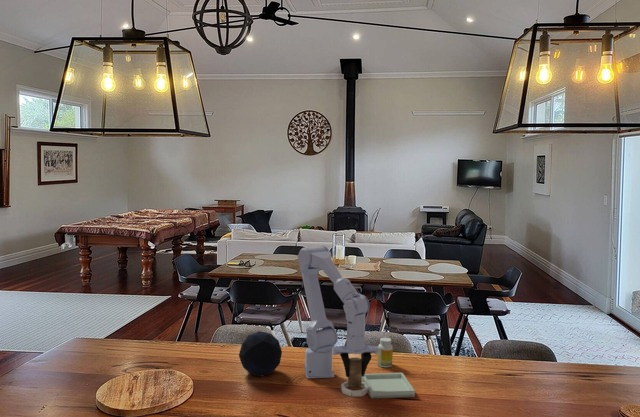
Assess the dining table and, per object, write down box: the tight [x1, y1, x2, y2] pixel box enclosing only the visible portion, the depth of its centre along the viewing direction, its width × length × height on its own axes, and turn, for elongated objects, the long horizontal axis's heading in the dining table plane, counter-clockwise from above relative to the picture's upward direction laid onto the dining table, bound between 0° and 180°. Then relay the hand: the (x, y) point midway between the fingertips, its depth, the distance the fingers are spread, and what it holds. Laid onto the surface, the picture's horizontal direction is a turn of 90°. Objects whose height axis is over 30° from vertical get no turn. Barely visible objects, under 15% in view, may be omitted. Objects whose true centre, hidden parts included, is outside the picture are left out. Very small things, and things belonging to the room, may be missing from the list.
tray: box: [362, 372, 416, 399], centre depth 161 cm, size 14×14×2 cm
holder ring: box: [340, 380, 368, 397], centre depth 159 cm, size 8×8×2 cm
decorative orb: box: [238, 330, 283, 377], centre depth 171 cm, size 14×15×15 cm
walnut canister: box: [347, 357, 363, 388], centre depth 159 cm, size 4×4×8 cm
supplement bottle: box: [377, 337, 394, 368], centre depth 180 cm, size 5×5×10 cm
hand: (354, 375), depth 159 cm, fingers closed on walnut canister, 4 cm apart
